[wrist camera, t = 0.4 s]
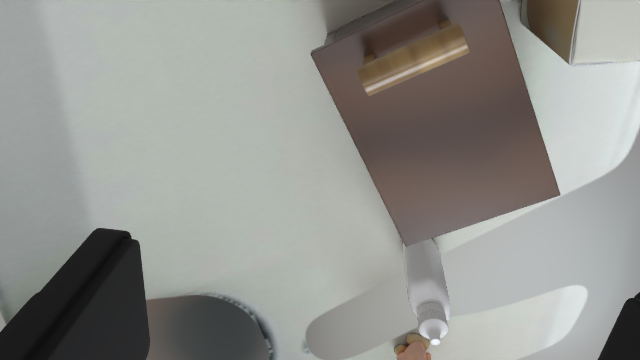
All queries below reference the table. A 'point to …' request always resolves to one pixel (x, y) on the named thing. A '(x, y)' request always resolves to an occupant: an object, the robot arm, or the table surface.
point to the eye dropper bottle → (427, 289)
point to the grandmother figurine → (413, 348)
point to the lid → (440, 115)
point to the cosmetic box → (586, 29)
